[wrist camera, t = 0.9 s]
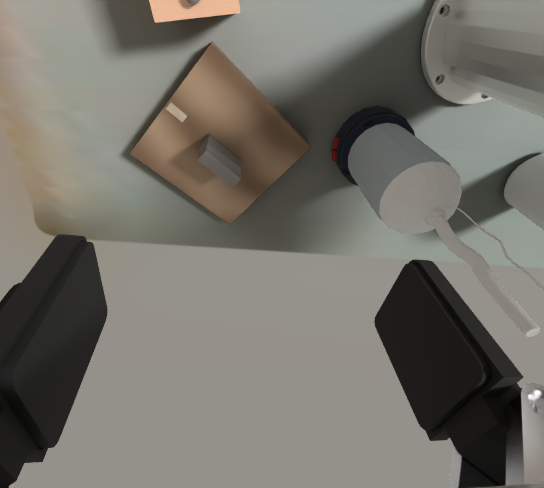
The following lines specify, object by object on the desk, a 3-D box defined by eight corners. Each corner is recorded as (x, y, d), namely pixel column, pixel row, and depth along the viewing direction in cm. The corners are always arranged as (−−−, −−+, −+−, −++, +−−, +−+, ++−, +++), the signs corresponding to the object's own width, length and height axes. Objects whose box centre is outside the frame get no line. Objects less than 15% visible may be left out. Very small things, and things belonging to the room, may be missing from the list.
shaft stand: (212, 41, 27) (206, 51, 22) (307, 140, 34) (319, 166, 29) (134, 146, 33) (115, 173, 27) (230, 215, 39) (228, 248, 34)
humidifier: (319, 139, 34) (430, 329, 14) (388, 88, 31) (640, 237, 12) (353, 190, 38) (473, 390, 19) (416, 150, 36) (633, 332, 16)
